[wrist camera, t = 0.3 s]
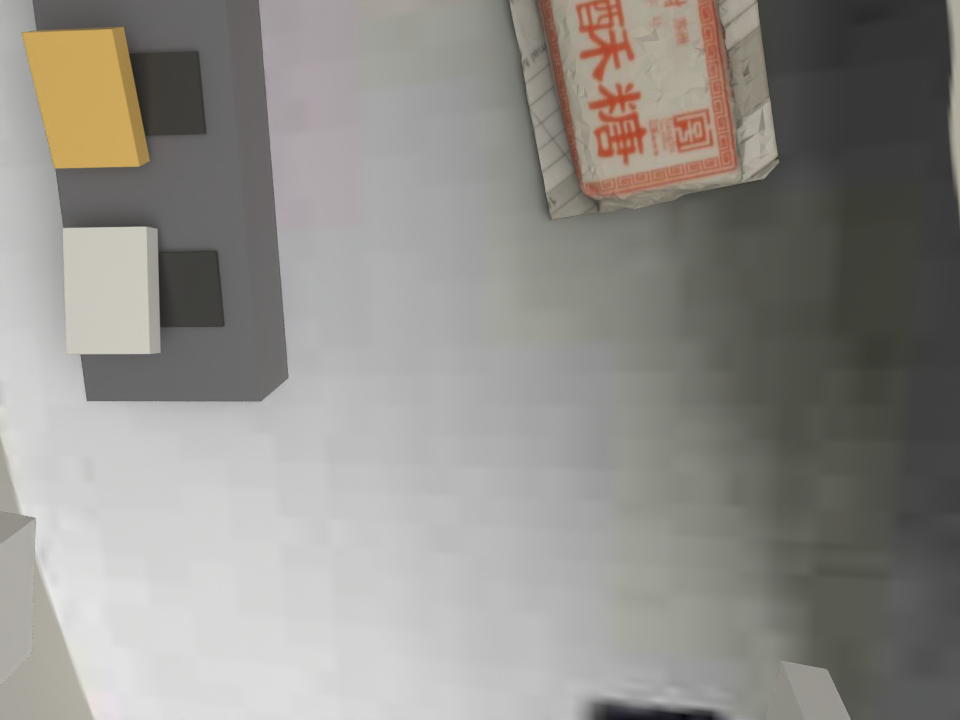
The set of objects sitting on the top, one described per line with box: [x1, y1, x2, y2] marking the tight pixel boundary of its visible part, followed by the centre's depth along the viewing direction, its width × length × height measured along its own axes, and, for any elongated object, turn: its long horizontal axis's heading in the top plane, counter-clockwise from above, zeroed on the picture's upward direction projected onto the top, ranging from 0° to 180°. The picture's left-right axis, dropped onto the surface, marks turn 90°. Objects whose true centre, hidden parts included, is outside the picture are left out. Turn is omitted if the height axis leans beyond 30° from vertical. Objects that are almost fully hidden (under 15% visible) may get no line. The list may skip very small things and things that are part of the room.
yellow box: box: [22, 27, 150, 169], centre depth 36 cm, size 5×4×1 cm
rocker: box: [63, 227, 161, 354], centre depth 38 cm, size 5×4×1 cm
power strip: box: [33, 0, 288, 401], centre depth 38 cm, size 32×8×4 cm, turn 1°
